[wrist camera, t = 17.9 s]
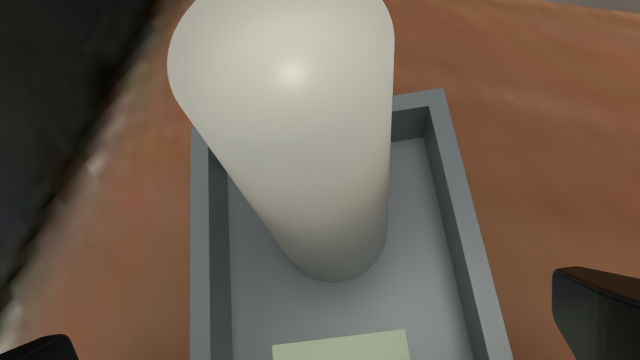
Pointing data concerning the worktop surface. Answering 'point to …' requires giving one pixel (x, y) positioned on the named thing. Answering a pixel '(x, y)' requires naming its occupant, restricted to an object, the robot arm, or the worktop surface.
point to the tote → (365, 289)
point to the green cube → (348, 348)
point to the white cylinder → (296, 118)
